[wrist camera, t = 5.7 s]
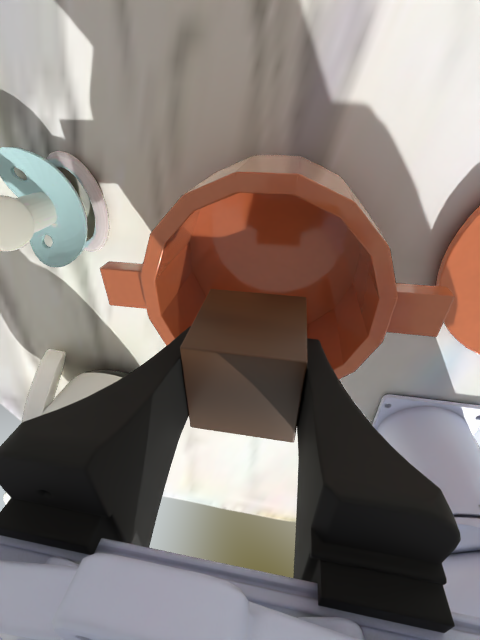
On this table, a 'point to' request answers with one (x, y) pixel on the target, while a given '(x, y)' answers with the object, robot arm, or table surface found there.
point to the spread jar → (73, 391)
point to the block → (246, 363)
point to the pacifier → (49, 206)
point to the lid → (464, 283)
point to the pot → (279, 259)
